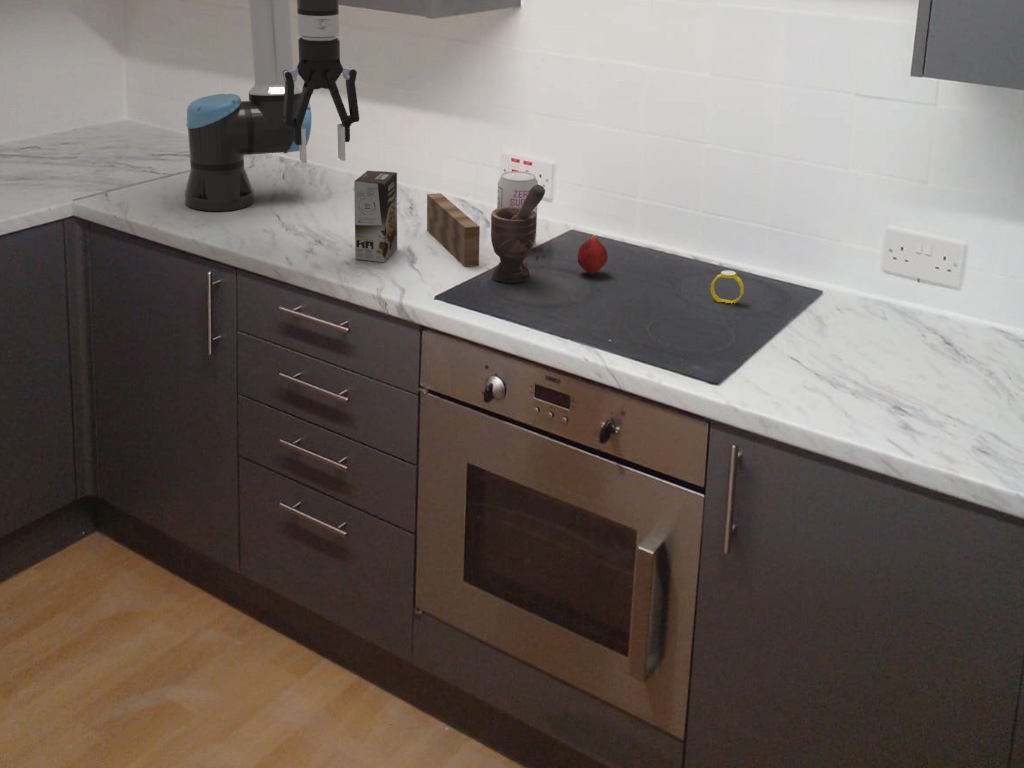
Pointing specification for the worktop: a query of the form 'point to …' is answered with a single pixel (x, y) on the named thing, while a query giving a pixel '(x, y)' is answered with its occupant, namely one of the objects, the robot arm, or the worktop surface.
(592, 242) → the onion
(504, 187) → the supplement can
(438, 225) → the wooden board
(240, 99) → the robot arm
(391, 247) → the coffee box
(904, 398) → the worktop surface
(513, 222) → the mortar and pestle
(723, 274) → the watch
